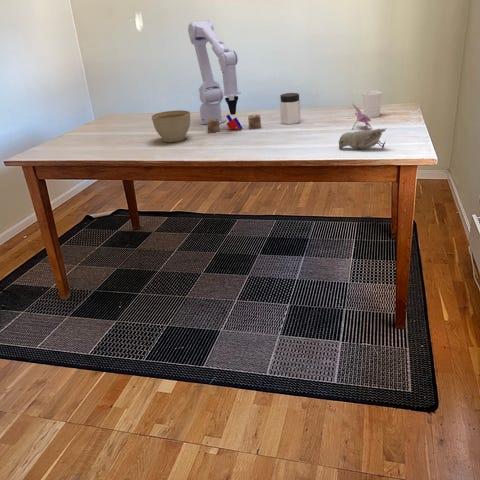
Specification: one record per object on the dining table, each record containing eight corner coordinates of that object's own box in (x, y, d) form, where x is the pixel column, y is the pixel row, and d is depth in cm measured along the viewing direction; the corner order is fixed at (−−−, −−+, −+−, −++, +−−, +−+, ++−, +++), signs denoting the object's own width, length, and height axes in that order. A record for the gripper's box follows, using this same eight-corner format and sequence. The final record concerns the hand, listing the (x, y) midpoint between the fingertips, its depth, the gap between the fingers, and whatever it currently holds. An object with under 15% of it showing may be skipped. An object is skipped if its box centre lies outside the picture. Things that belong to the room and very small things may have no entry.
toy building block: (234, 132, 221) (225, 116, 219) (242, 127, 219) (232, 111, 217) (232, 134, 218) (222, 118, 216) (240, 129, 216) (230, 113, 214)
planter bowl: (187, 144, 203) (183, 117, 198) (150, 145, 206) (145, 119, 202) (197, 134, 217) (194, 109, 212) (163, 135, 220) (159, 110, 216)
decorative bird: (340, 147, 181) (340, 126, 177) (386, 147, 175) (387, 126, 172) (337, 151, 176) (337, 130, 173) (385, 152, 171) (385, 130, 168)
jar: (304, 121, 220) (303, 93, 215) (291, 125, 216) (290, 97, 211) (290, 119, 227) (289, 92, 222) (277, 122, 222) (275, 95, 217)
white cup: (358, 116, 220) (359, 93, 216) (373, 113, 223) (373, 90, 218) (370, 119, 214) (370, 95, 209) (384, 115, 216) (385, 92, 212)
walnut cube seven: (208, 133, 216) (206, 121, 214) (208, 130, 221) (207, 119, 219) (219, 132, 216) (218, 120, 214) (219, 129, 221) (218, 118, 219)
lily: (369, 136, 194) (380, 112, 192) (341, 124, 195) (351, 101, 193) (367, 137, 205) (378, 115, 203) (341, 126, 207) (351, 104, 205)
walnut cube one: (249, 129, 216) (248, 117, 214) (249, 127, 221) (248, 115, 218) (261, 128, 216) (260, 116, 214) (260, 125, 221) (259, 114, 218)
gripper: (240, 83, 203) (242, 116, 209) (238, 78, 216) (241, 110, 222) (222, 85, 203) (226, 118, 209) (222, 80, 216) (225, 111, 222)
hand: (233, 114), depth 216 cm, fingers closed
